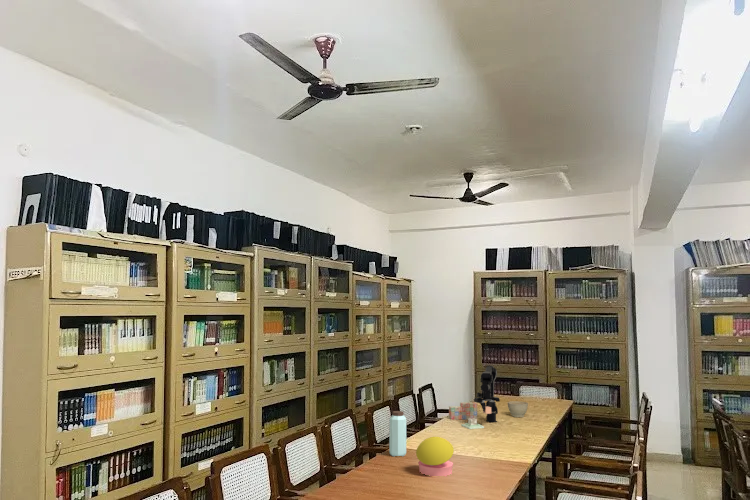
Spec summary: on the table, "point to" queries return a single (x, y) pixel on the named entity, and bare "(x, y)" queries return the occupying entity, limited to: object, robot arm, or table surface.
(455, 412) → the stack of blocks
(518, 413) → the planter bowl
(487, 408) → the salmon pink cube
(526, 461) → the table surface
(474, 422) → the cream brick
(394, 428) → the water bottle
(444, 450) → the yellow egg on stand
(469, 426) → the baseplate
